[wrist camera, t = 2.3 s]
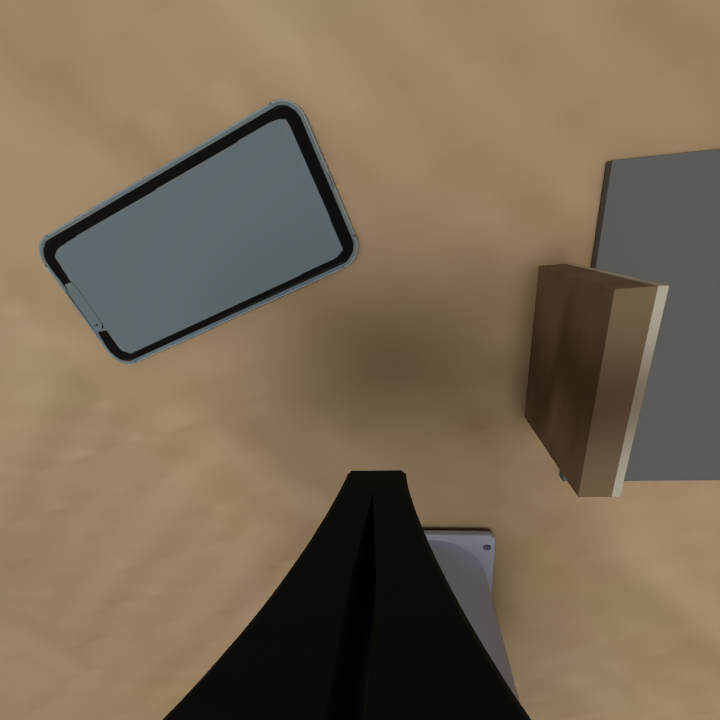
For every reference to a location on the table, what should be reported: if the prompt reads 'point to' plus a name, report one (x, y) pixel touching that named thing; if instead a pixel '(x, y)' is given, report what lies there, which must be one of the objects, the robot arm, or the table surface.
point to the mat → (671, 303)
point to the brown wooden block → (591, 370)
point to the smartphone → (205, 236)
